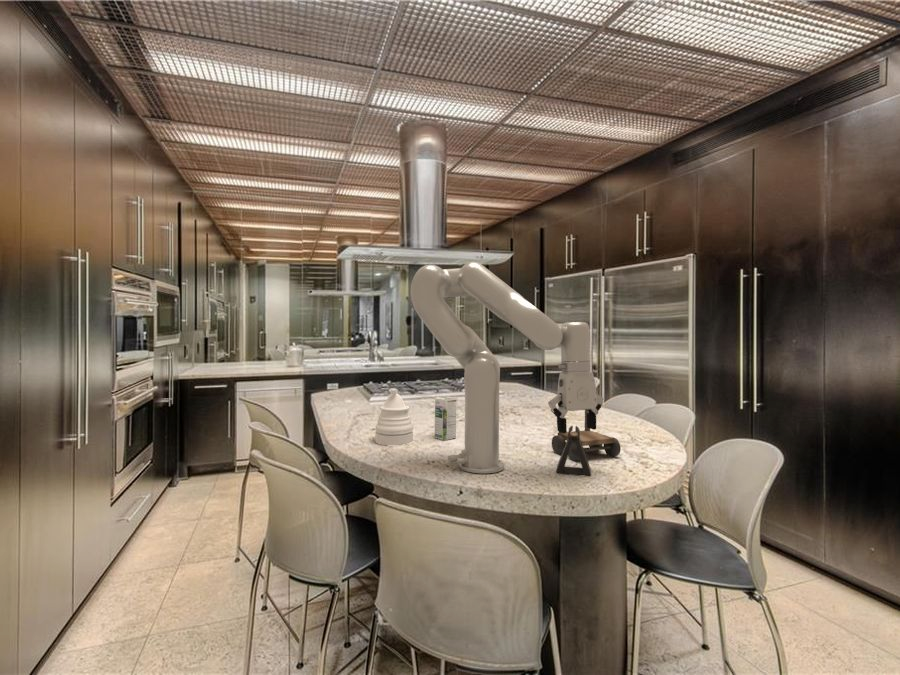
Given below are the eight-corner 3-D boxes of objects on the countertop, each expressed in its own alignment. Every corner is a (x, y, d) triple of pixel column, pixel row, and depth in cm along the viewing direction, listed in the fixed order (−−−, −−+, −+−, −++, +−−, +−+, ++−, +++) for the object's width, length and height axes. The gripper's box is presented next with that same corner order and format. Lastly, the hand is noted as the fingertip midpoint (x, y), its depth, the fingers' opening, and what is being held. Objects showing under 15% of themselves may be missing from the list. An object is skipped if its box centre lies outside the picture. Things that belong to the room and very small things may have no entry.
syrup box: (433, 438, 163) (434, 397, 163) (445, 435, 167) (446, 395, 167) (444, 441, 159) (444, 399, 159) (456, 438, 163) (457, 397, 163)
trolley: (578, 463, 133) (579, 397, 133) (551, 451, 146) (552, 391, 146) (620, 458, 139) (621, 394, 139) (591, 447, 152) (591, 389, 151)
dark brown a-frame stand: (555, 473, 124) (556, 428, 124) (557, 467, 129) (557, 424, 129) (590, 476, 121) (591, 431, 121) (590, 470, 127) (591, 426, 127)
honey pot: (411, 446, 152) (411, 391, 151) (372, 445, 152) (372, 391, 152) (414, 437, 164) (414, 386, 164) (378, 436, 165) (379, 386, 164)
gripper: (556, 370, 118) (558, 436, 118) (610, 366, 125) (612, 429, 125) (540, 368, 125) (542, 431, 125) (592, 365, 132) (593, 424, 132)
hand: (577, 430), depth 125 cm, fingers open, 9 cm apart
